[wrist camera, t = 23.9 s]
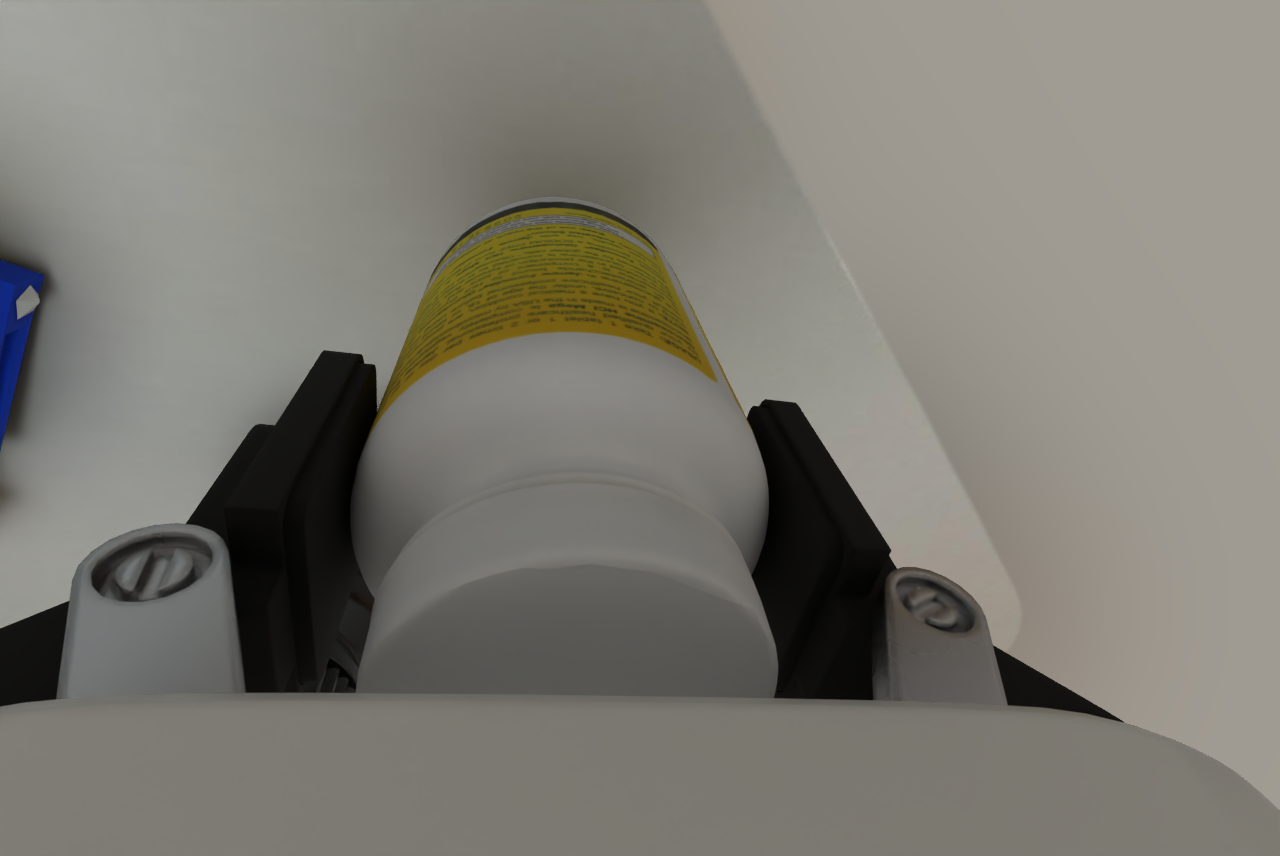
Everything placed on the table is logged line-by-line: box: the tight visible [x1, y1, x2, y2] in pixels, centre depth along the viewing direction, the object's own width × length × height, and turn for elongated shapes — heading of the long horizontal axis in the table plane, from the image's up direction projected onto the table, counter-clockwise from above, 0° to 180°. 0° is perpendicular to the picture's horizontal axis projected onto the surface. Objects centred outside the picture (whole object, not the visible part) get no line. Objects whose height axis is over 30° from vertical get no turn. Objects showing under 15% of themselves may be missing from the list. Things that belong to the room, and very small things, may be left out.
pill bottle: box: [350, 197, 778, 698], centre depth 12 cm, size 6×6×11 cm
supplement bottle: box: [304, 568, 375, 693], centre depth 22 cm, size 7×7×12 cm
